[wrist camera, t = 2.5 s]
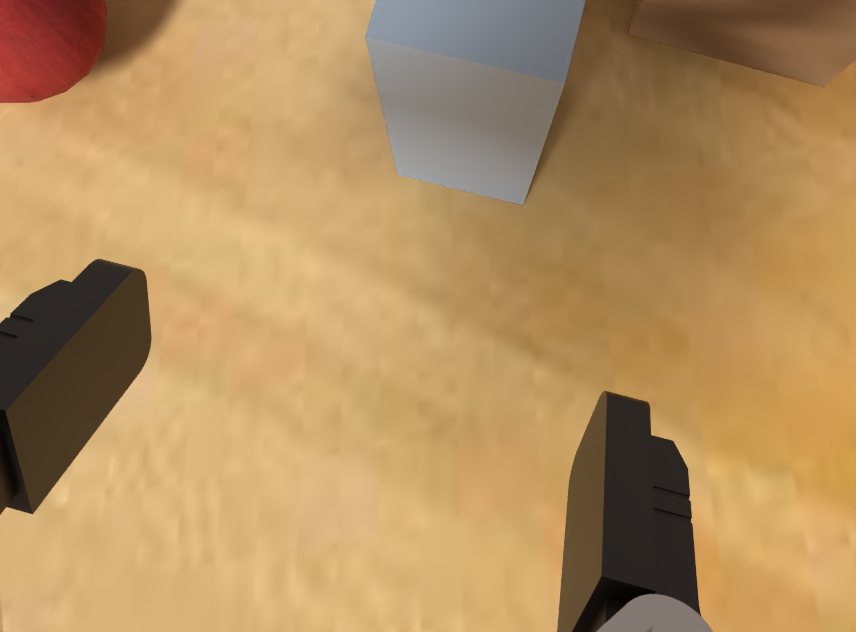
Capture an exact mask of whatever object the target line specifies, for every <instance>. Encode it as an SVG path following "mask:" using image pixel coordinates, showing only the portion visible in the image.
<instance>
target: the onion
mask: <svg viewBox="0 0 856 632" xmlns="http://www.w3.org/2000/svg"><path fill="white" fill-rule="evenodd" d="M106 17H107V7H106V4H105V1H104V0H0V103H29V102H37V101H41V100H43V99H46V98H49V97H52V96H55V95H58V94H60V93H63V92H66V91H67V90H68V89H70V88H71V87H72V86H74V85H75V84H76V83H77V82H79V81H80V80H81V79H83V78H84V77H85V76H86V75H88V74H89V72H90V70H91V69H92V67H93V65H94V64H95V62H96V60H97V59H98V57H99V55H100V54H101V52H102V50H103V45H104V39H105V30H106Z"/></svg>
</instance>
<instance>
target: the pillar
mask: <svg viewBox="0 0 856 632" xmlns="http://www.w3.org/2000/svg"><path fill="white" fill-rule="evenodd" d="M585 1H586V0H376V1H375V5H374V8H373V12H372V15H371V19H370V22H369V26H368V30H367V33H366V42H367V46H368V50H369V55H370V59H371V63H372V68H373V72H374V76H375V81H376V85H377V89H378V94H379V98H380V102H381V107H382V111H383V115H384V120H385V124H386V128H387V133H388V137H389V141H390V146H391V150H392V154H393V158H394V163H395V167H396V171H397V175H400V176H404V177H408V178H412V179H416V180H420V181H424V182H429V183H433V184H437V185H441V186H445V187H449V188H454V189H458V190H462V191H466V192H470V193H474V194H478V195H483V196H487V197H491V198H495V199H499V200H503V201H507V202H512V203H516V204H520V205H524V202H525V199H526V196H527V193H528V190H529V187H530V184H531V181H532V178H533V176H534V173H535V170H536V167H537V164H538V161H539V158H540V155H541V152H542V149H543V146H544V143H545V140H546V138H547V135H548V132H549V129H550V126H551V123H552V120H553V117H554V114H555V111H556V108H557V105H558V102H559V100H560V97H561V94H562V91H563V88H564V85H565V82H566V78H567V73H568V69H569V65H570V61H571V57H572V53H573V49H574V45H575V41H576V37H577V33H578V29H579V25H580V21H581V17H582V13H583V9H584V5H585Z"/></svg>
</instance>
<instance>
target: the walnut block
mask: <svg viewBox="0 0 856 632" xmlns="http://www.w3.org/2000/svg"><path fill="white" fill-rule="evenodd" d="M627 35H631V36H635V37H639V38H642V39H646V40H650V41H653V42H657V43H661V44H665V45H668V46H672V47H676V48H679V49H683V50H687V51H690V52H694V53H698V54H702V55H705V56H709V57H713V58H716V59H720V60H724V61H728V62H731V63H735V64H739V65H742V66H746V67H750V68H753V69H757V70H761V71H765V72H768V73H772V74H776V75H779V76H783V77H787V78H791V79H794V80H798V81H802V82H805V83H809V84H813V85H817V86H820V87H824V86H825V85H827V84H828V83H829V82H830V81H831V80H832V79H833V78H835V77H836V76H837V75H838V74H839V73H840V72H841V71H842V70H844V69H845V68H846V67H847V66H848V65H849V64H850V63H852V62H853V61H854V60H855V59H856V0H637V3H636V6H635V10H634V13H633V17H632V20H631V24H630V27H629V31H628V34H627Z"/></svg>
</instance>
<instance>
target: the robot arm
mask: <svg viewBox="0 0 856 632" xmlns="http://www.w3.org/2000/svg"><path fill="white" fill-rule="evenodd" d="M150 347H151V325H150V314H149V302H148V291H147V280H146V276H145V273H144V272H143V271H142V270H141V269H137V268H133V267H129V266H126V265H122V264H118V263H114V262H110V261H106V260H102V259H97V260H95V261H93V262H92V263H90V264H89V265H88V266H87V267H86V268H85V269H84V270H83V271H82V272H81V273H80V274H79V275H78V276H77V277H76V278H75V279H74V280H73V281H72V282H68V281H65V280H59V281H57V282H55V283H53V284H50V285H48V286H46V287H44V288H42V289H40V290H38V291H36V292H34V293H32V294H31V295H29V296H28V297H27V298H26V299H25V300H24V301H23V302H22V303H21V304H20V305H19V306H18V307H17V308H16V309H15V310H14V311H13V312H12V313H11V315H10V317H9V318H7V317H6V318H5V319H4V320H3V321H2V322H1V323H0V514H1V513H2V512H3V510H4V509H5V508H6V507H9V508H12V509H16V510H20V511H23V512H27V513H30V514H33V513H34V512H35V511H36V509H37V508H38V507H39V505H40V504H41V503H42V501H43V500H44V499H45V497H46V496H47V495H48V493H49V492H50V491H51V489H52V488H53V487H54V485H55V484H56V483H57V481H58V480H59V479H60V477H61V476H62V475H63V474H64V472H65V471H66V470H67V468H68V467H69V466H70V464H71V463H72V462H73V460H74V459H75V458H76V456H77V455H78V454H79V452H80V451H81V450H82V448H83V447H84V446H85V444H86V443H87V442H88V440H89V439H90V438H91V436H92V435H93V434H94V432H95V431H96V430H97V428H98V427H99V426H100V425H101V423H102V422H103V421H104V419H105V418H106V417H107V415H108V414H109V413H110V411H111V410H112V409H113V407H114V406H115V405H116V403H117V402H118V401H119V399H120V398H121V397H122V395H123V394H124V393H125V391H126V390H127V389H128V387H129V386H130V385H131V383H132V382H133V381H134V379H135V378H136V377H137V375H138V374H139V373H140V371H141V370H142V368H143V367H144V365H145V362H146V360H147V358H148V355H149V351H150ZM689 497H690V489H689V477H688V468H687V466H686V464H685V462H684V460H683V458H682V456H681V455H680V453H679V451H678V449H677V447H676V445H675V443H674V441H671V440H668V439H664V438H660V437H656V436H652V435H651V422H650V406H649V403H648V402H646V401H642V400H638V399H634V398H631V397H627V396H623V395H619V394H615V393H611V392H607V391H604V392H603V393H602V394H601V396H600V398H599V400H598V402H597V405H596V407H595V409H594V412H593V414H592V416H591V419H590V421H589V424H588V426H587V428H586V431H585V433H584V435H583V438H582V440H581V443H580V445H579V447H578V450H577V452H576V455H575V459H574V462H573V466H572V470H571V475H570V480H569V489H568V502H567V514H566V527H565V540H564V553H563V566H562V579H561V592H560V604H559V617H558V630H557V632H713V631H712V630H711V628H710V627H709V625H708V624H707V623H706V621H705V620H704V619H703V618H702V617H701V614H700V609H699V601H698V589H697V576H696V564H695V551H694V539H693V527H692V523H691V518H692V514H691V502H690V501H689ZM0 632H3V626H2V612H1V599H0Z"/></svg>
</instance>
